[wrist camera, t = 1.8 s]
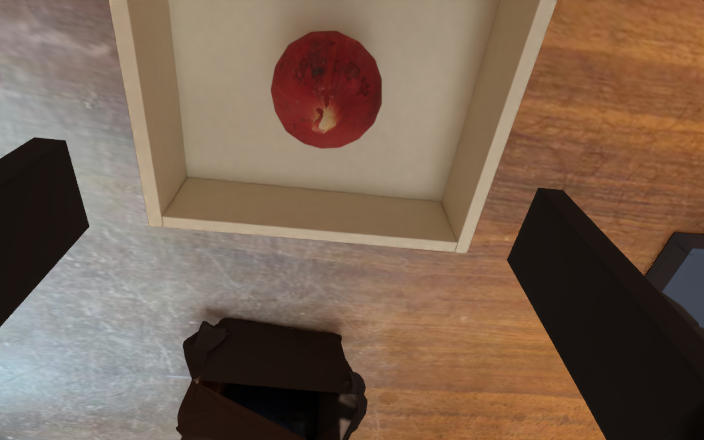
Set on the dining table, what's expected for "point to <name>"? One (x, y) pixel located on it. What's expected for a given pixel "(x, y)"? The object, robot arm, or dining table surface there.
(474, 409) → the dining table surface
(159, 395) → the dining table surface
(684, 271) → the tray
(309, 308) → the dining table surface
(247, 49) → the beige open rectangular box
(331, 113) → the onion
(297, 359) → the lantern
